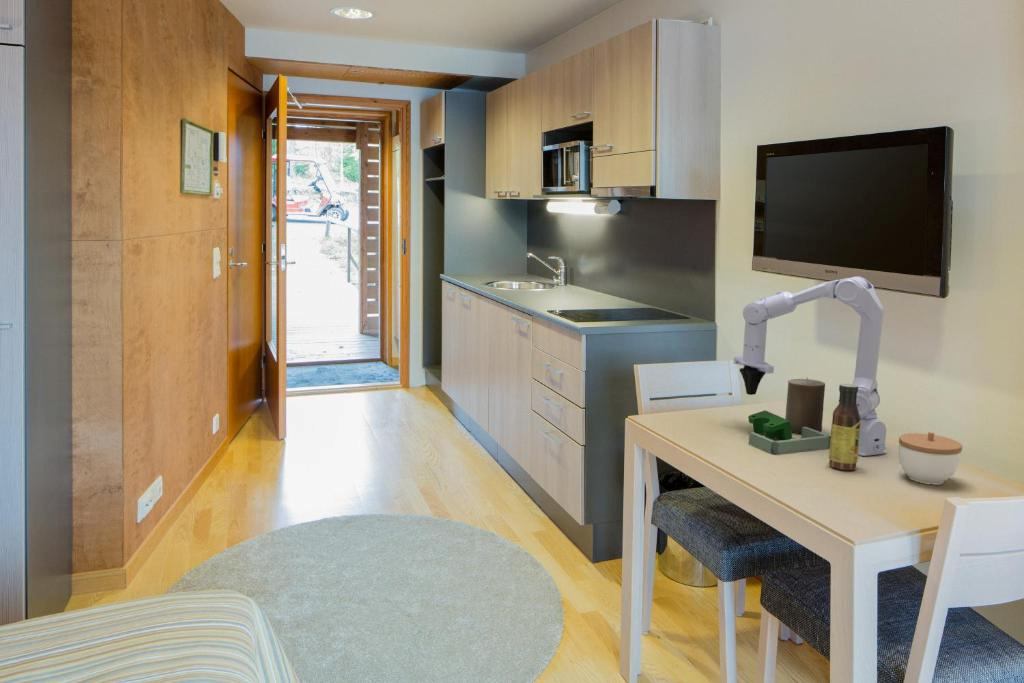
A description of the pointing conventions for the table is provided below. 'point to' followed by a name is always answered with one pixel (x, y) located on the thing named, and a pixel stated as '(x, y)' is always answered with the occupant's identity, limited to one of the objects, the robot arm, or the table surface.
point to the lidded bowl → (929, 457)
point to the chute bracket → (792, 442)
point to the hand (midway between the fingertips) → (751, 394)
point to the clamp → (771, 425)
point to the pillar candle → (805, 404)
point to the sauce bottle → (845, 430)
